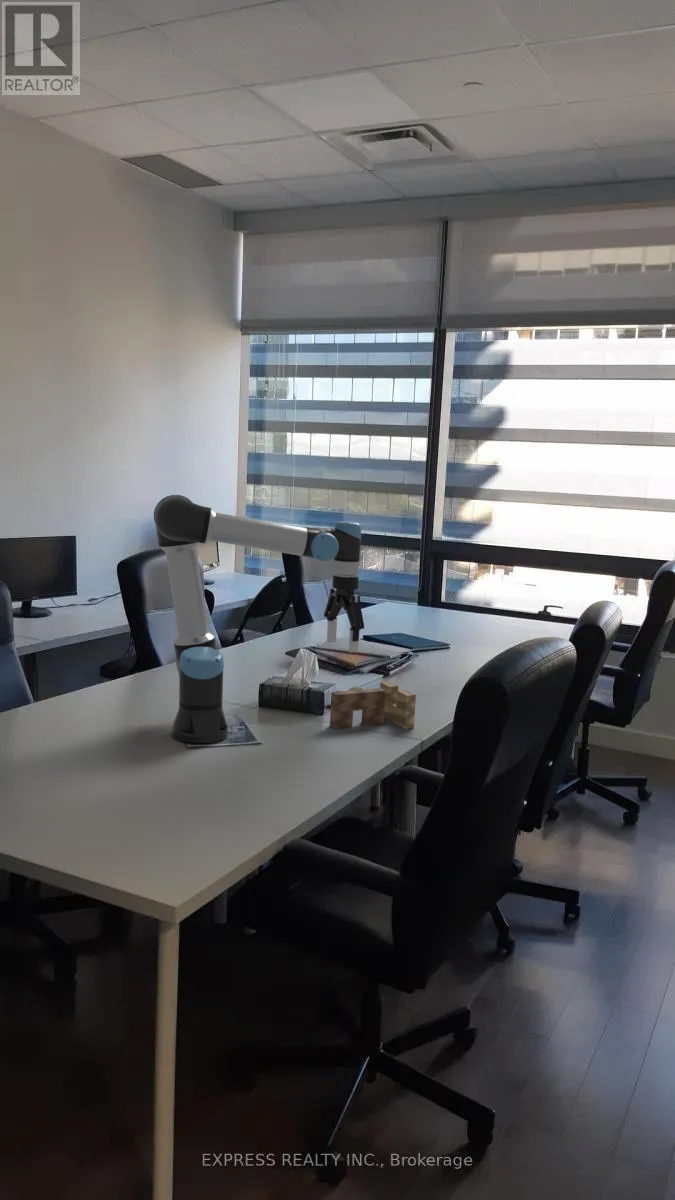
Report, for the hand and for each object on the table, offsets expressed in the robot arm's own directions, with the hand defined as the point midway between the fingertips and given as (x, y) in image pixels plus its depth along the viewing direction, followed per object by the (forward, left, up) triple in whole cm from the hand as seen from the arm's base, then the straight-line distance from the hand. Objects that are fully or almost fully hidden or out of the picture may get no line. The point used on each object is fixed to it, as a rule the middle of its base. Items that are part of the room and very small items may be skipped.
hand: (342, 647), depth 265 cm
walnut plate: (+2, -7, -22) cm, 23 cm away
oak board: (+15, -7, -22) cm, 28 cm away
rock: (+8, +11, -22) cm, 26 cm away
